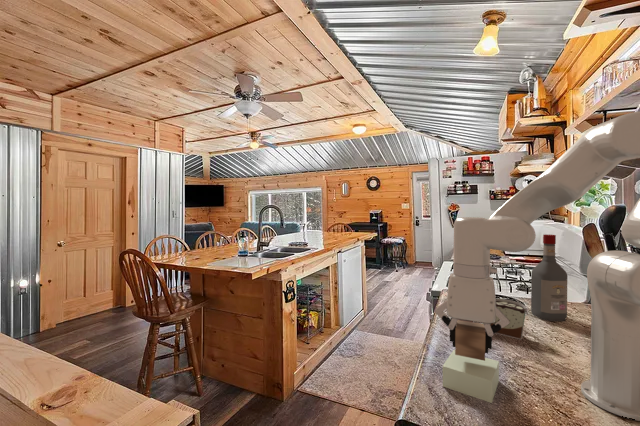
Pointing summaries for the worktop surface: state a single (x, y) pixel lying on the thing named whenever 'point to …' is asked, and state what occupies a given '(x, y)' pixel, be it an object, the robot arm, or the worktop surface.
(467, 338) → the walnut block
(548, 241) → the liquor
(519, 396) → the worktop surface
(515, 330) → the food container
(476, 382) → the sage block
